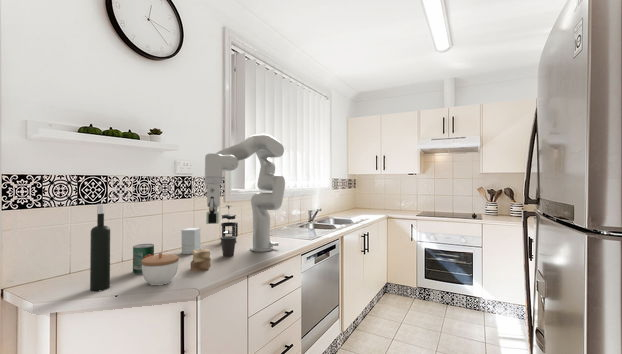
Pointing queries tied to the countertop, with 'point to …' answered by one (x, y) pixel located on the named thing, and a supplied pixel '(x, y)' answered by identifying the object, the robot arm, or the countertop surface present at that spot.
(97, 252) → the wine bottle
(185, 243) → the supplement box
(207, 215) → the sage cube
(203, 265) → the walnut block
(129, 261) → the countertop surface
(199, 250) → the oak block
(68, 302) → the countertop surface
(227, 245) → the coffee cup
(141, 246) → the canned tomato
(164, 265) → the lidded bowl
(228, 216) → the french press
